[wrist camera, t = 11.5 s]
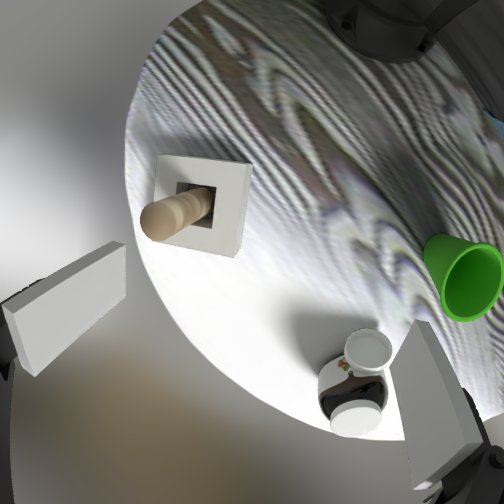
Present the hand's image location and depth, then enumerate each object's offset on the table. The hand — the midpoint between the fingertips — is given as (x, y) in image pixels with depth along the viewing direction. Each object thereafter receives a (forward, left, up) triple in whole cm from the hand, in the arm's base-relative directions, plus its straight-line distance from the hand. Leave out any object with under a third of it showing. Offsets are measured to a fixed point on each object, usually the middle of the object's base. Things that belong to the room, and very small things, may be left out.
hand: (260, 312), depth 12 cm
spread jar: (+21, +14, -26) cm, 36 cm away
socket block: (+1, -11, -25) cm, 28 cm away
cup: (+2, +21, -26) cm, 33 cm away
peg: (+1, -11, -25) cm, 28 cm away
